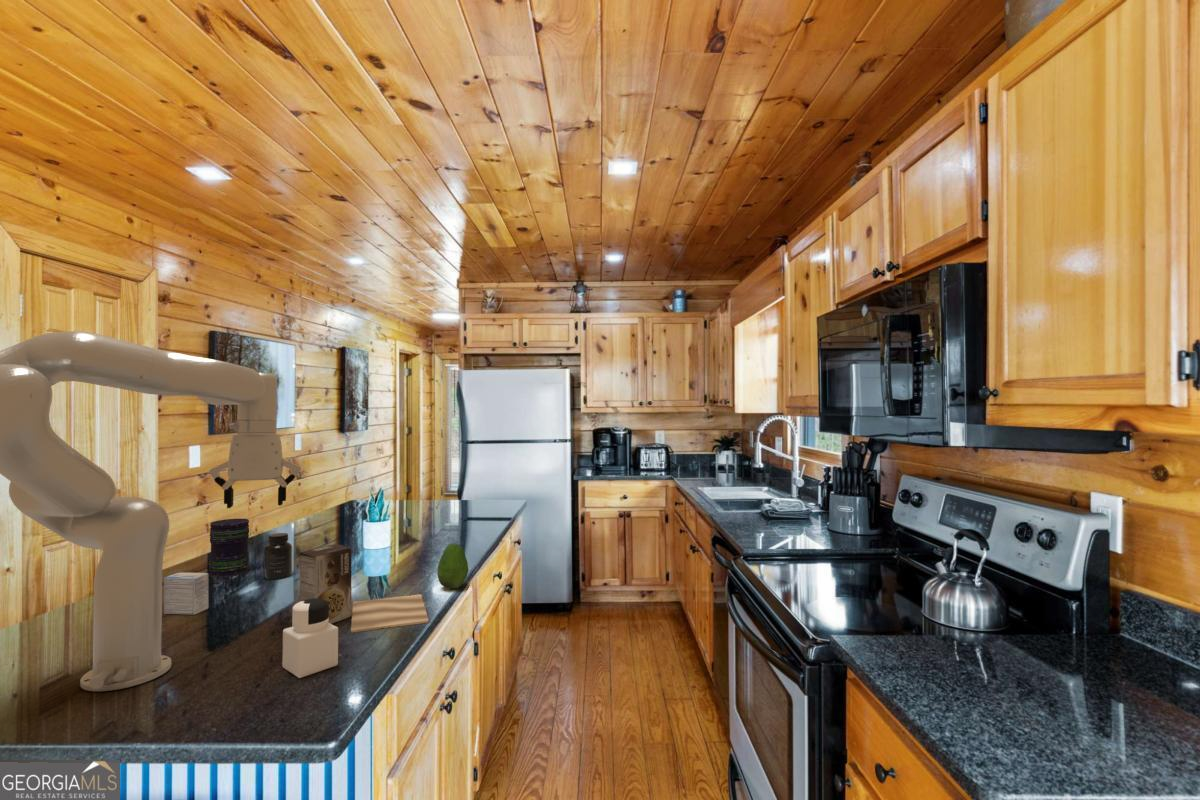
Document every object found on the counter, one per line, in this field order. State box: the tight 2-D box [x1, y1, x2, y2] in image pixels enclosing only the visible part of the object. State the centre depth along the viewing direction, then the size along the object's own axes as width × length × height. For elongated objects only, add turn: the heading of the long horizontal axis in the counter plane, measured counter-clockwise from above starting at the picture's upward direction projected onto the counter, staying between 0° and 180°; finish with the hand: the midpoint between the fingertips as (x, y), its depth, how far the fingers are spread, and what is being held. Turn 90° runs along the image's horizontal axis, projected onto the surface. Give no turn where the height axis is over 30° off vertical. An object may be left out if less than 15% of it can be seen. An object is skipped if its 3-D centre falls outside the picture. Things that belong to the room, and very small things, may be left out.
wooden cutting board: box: [350, 593, 429, 633], centre depth 136 cm, size 20×16×1 cm
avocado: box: [436, 542, 469, 590], centre depth 155 cm, size 8×8×12 cm
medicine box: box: [163, 572, 209, 616], centre depth 137 cm, size 8×4×9 cm, turn 84°
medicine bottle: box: [282, 598, 339, 679], centre depth 107 cm, size 7×7×12 cm
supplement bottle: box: [264, 532, 293, 580], centre depth 166 cm, size 7×7×12 cm
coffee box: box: [299, 543, 353, 625], centre depth 131 cm, size 9×6×16 cm
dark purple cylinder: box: [208, 518, 250, 578], centre depth 170 cm, size 10×10×15 cm
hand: (255, 505), depth 128 cm, fingers open, 9 cm apart
